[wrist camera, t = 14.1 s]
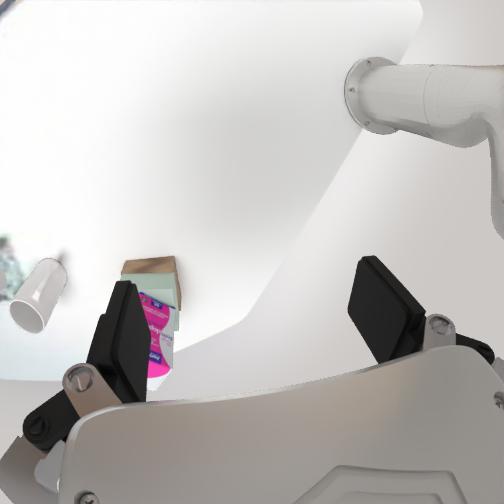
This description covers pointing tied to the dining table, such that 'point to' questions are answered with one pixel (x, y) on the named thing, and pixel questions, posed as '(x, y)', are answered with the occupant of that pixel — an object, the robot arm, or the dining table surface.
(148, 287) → the sage top block
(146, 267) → the walnut base block
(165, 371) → the supplement box
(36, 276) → the mug
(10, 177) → the dining table surface
